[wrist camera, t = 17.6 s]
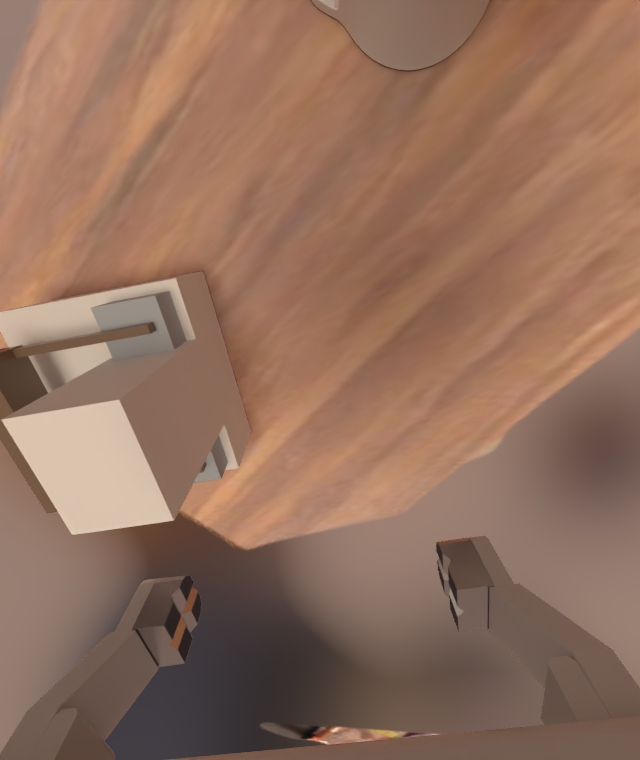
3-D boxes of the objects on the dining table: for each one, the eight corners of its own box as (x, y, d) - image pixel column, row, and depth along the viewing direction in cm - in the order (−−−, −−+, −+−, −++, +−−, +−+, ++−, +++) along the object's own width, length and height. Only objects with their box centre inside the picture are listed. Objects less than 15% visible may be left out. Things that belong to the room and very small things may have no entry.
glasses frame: (-4, 349, 31) (-48, 364, 28) (153, 320, 30) (129, 331, 26) (74, 486, 37) (47, 513, 34) (207, 466, 36) (194, 491, 32)
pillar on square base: (51, 300, 40) (-223, 361, 20) (203, 271, 39) (75, 303, 19) (123, 452, 49) (-18, 604, 28) (251, 432, 47) (199, 576, 27)
